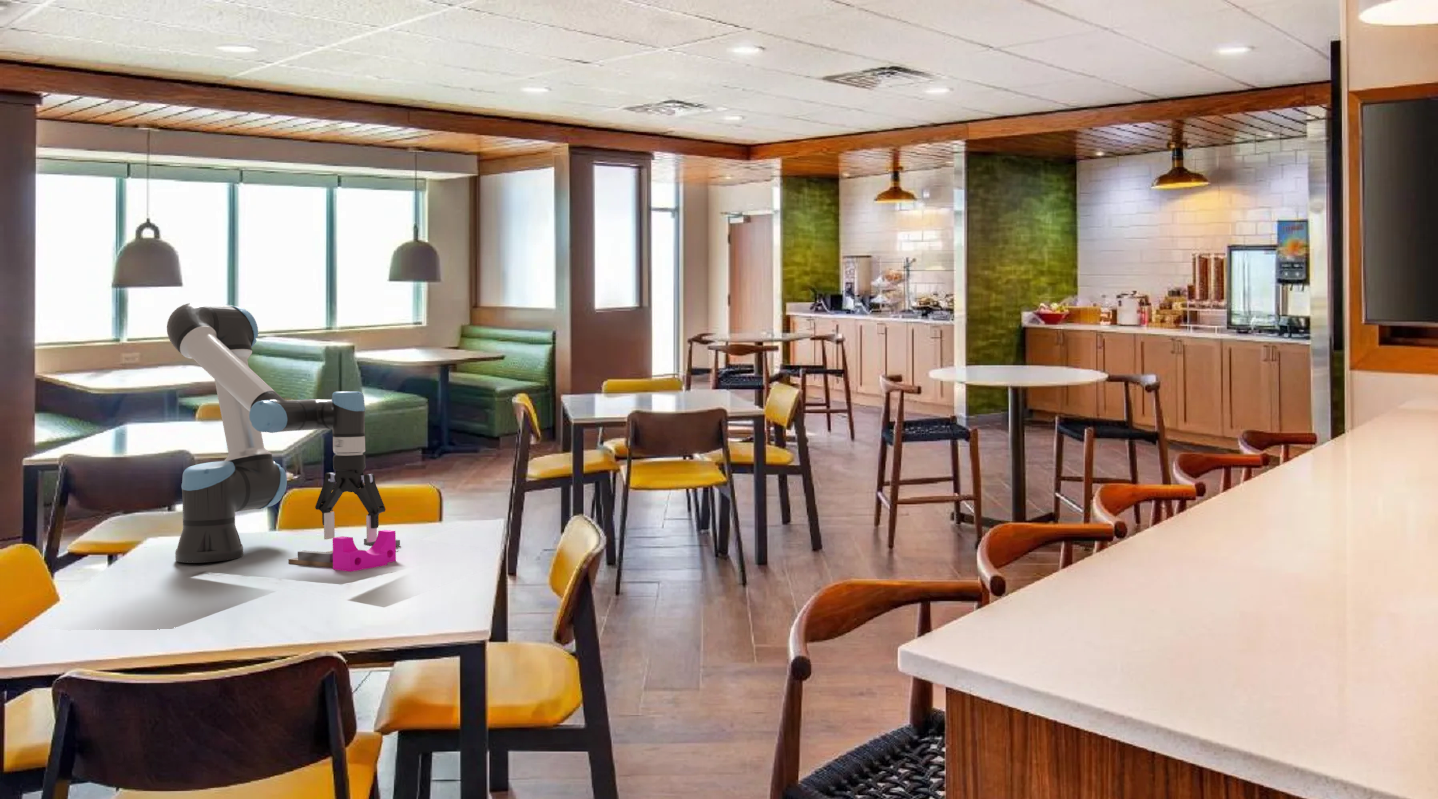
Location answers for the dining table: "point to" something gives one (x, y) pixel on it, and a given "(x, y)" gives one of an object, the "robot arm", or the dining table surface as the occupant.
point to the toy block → (364, 552)
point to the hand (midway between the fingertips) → (350, 540)
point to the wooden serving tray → (320, 557)
